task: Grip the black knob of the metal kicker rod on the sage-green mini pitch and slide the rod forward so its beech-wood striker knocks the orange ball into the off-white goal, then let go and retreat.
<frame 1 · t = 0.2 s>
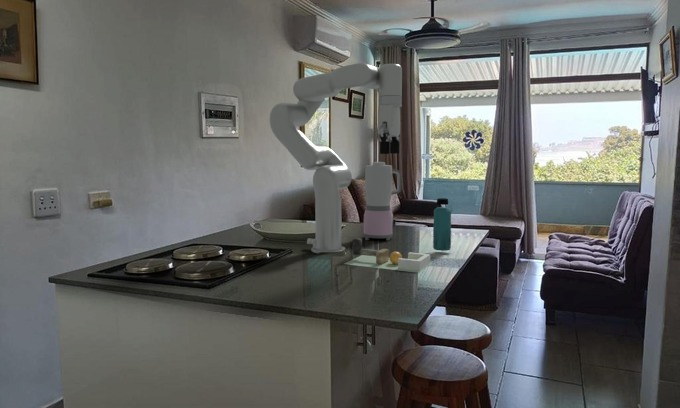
hand: (389, 153, 170), 36 cm above the countertop, tool pointing down, fingers open, 9 cm apart
ball: (395, 257, 161), point 3 cm above the countertop, touching pitch
pitch: (388, 266, 162), on the countertop
goal: (412, 268, 159), resting on pitch
kicker rod: (369, 250, 165), point 5 cm above the countertop, slide at 0.0 cm
beverage bottle: (441, 253, 183), on the countertop
blender: (381, 239, 211), on the countertop
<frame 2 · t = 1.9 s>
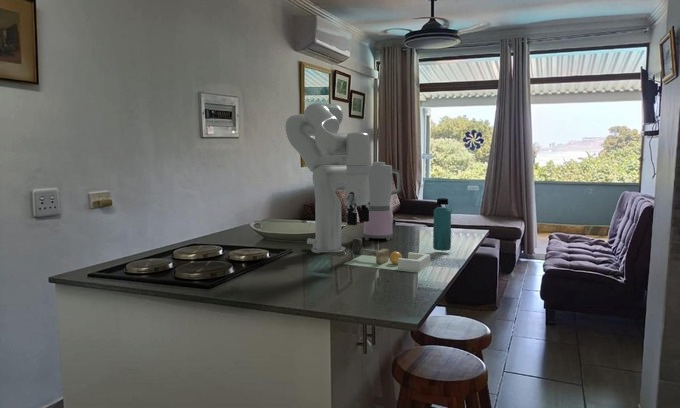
hand: (358, 223, 165), 13 cm above the countertop, tool pointing down, fingers open, 9 cm apart
nothing on the countertop moved.
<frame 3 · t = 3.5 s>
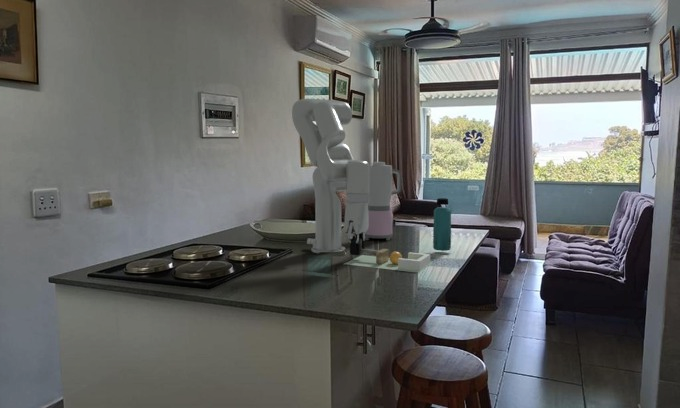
hand: (357, 253, 167), 3 cm above the countertop, tool pointing down, fingers closed on kicker rod, 3 cm apart
kicker rod: (369, 250, 165), point 5 cm above the countertop, slide at 0.0 cm, touching gripper
everything else where it was.
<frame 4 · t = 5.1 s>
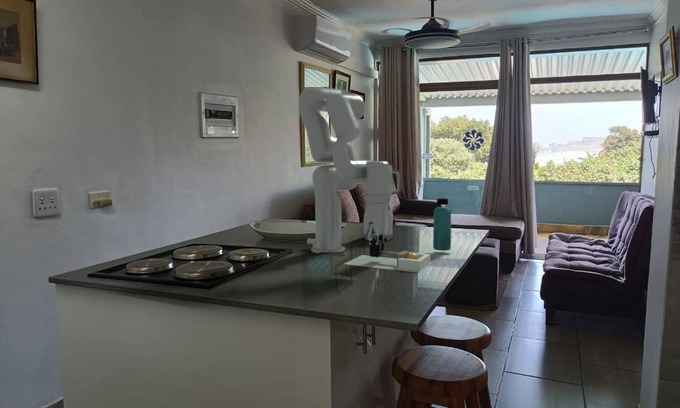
hand: (376, 255, 164), 3 cm above the countertop, tool pointing down, fingers closed on kicker rod, 3 cm apart
ball: (412, 259, 158), point 3 cm above the countertop, tilted 156°, touching pitch
kicker rod: (389, 252, 162), point 5 cm above the countertop, slide at 7.0 cm, touching gripper
everything else where it was.
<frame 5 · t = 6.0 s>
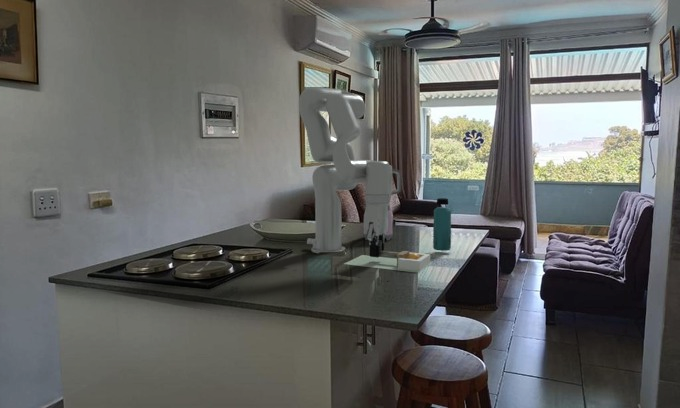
hand: (376, 255, 164), 3 cm above the countertop, tool pointing down, fingers open, 3 cm apart
ball: (413, 259, 158), point 3 cm above the countertop, tilted 169°, touching pitch
kicker rod: (389, 252, 162), point 5 cm above the countertop, slide at 7.0 cm
everything else where it was.
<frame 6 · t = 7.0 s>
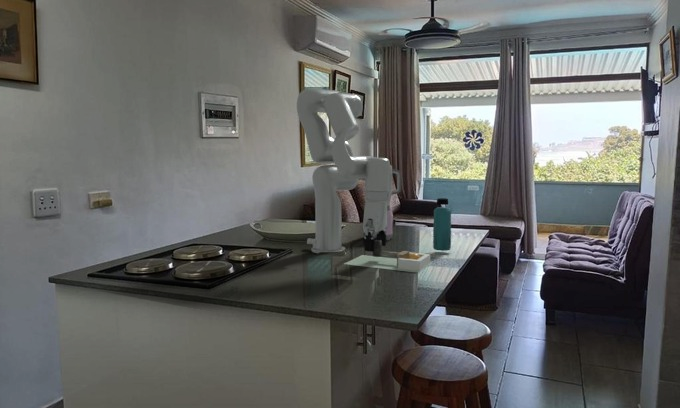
hand: (375, 248, 164), 5 cm above the countertop, tool pointing down, fingers open, 9 cm apart
ball: (414, 259, 158), point 3 cm above the countertop, tilted 175°, touching pitch
everything else where it was.
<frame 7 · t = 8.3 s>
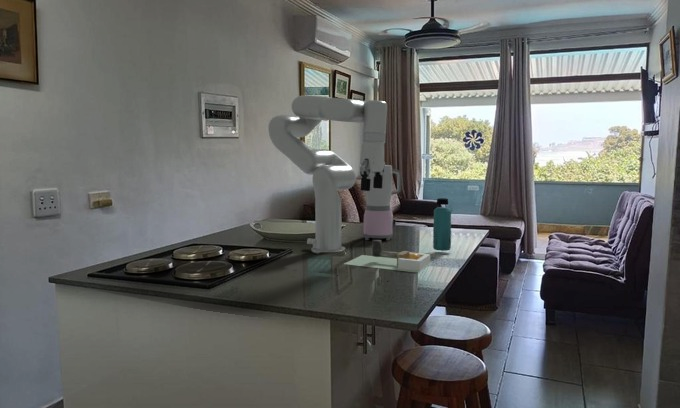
hand: (371, 189, 170), 24 cm above the countertop, tool pointing down, fingers open, 9 cm apart
nothing on the countertop moved.
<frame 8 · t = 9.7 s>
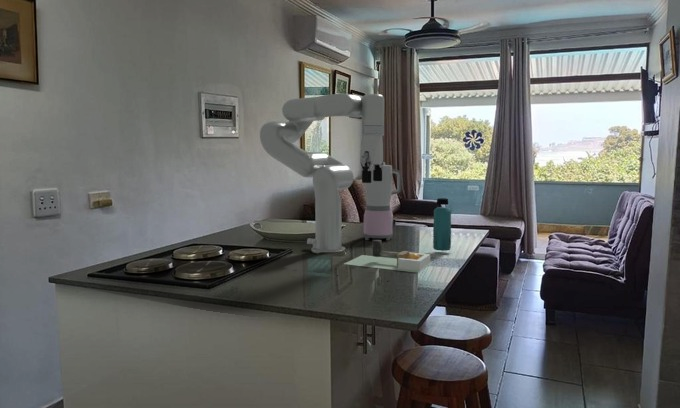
hand: (372, 181, 173), 26 cm above the countertop, tool pointing down, fingers open, 9 cm apart
nothing on the countertop moved.
at the end: ball inside the target area (1.2 cm from its centre), point 3.0 cm above the countertop; kicker rod slide at 7.0 cm; the gripper is holding nothing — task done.
